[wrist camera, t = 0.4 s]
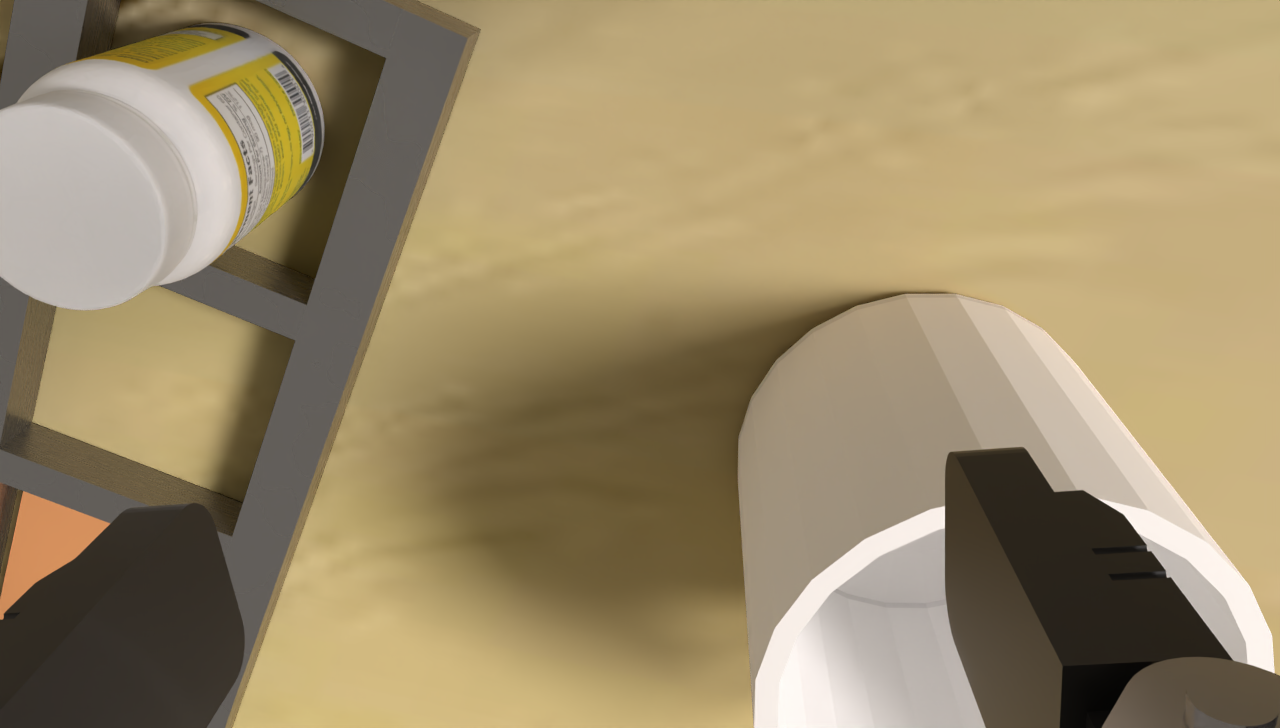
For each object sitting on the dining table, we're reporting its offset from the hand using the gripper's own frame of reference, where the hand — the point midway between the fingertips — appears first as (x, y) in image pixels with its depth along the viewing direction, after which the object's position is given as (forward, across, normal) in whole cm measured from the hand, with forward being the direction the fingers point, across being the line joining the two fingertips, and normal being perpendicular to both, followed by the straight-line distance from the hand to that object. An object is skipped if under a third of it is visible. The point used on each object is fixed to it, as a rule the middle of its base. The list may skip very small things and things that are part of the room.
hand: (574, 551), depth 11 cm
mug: (+18, -7, +9) cm, 21 cm away
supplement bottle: (+17, +10, -3) cm, 20 cm away
